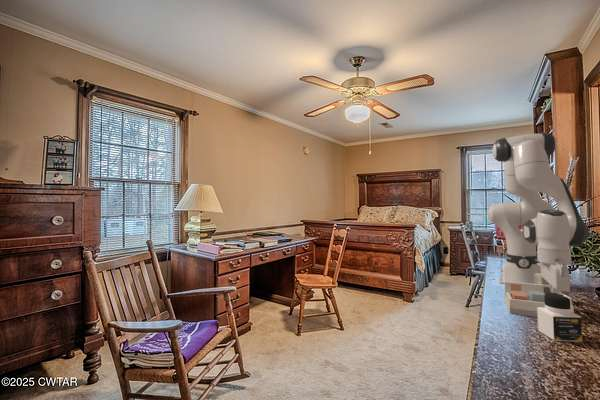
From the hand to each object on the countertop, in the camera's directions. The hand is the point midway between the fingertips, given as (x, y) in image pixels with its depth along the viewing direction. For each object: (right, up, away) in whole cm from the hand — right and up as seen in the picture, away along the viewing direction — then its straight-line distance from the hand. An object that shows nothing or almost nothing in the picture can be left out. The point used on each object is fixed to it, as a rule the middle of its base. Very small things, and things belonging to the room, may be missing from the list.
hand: (555, 297), depth 101 cm
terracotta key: (-9, -3, +5) cm, 10 cm away
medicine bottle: (-13, -6, -16) cm, 21 cm away
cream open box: (-3, -6, +4) cm, 8 cm away
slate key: (-4, -2, +2) cm, 5 cm away
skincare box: (+10, -6, +16) cm, 20 cm away
